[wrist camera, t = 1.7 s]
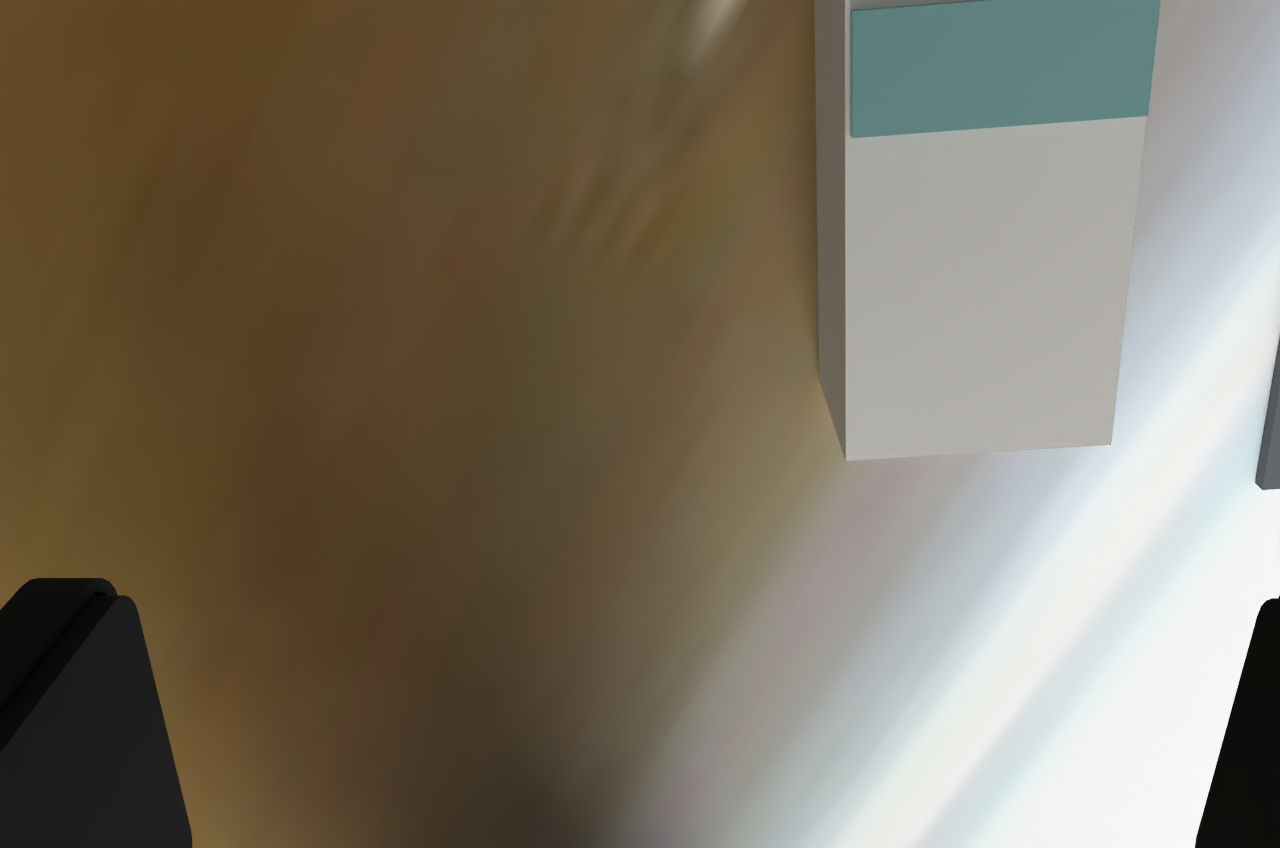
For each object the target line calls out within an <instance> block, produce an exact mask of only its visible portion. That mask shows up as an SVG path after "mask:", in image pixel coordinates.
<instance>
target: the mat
mask: <svg viewBox="0 0 1280 848" xmlns="http://www.w3.org/2000/svg"><path fill="white" fill-rule="evenodd" d="M1255 483H1256V484H1257V485H1258V486H1259V487H1260V488H1261V489H1262V490H1267V489H1280V341H1279V347H1278V353H1277V359H1276V364H1275V370H1274V376H1273V382H1272V388H1271V394H1270V400H1269V405H1268V411H1267V417H1266V423H1265V429H1264V435H1263V441H1262V446H1261V452H1260V458H1259V464H1258V470H1257V476H1256V482H1255Z"/></svg>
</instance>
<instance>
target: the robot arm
mask: <svg viewBox="0 0 1280 848" xmlns="http://www.w3.org/2000/svg"><path fill="white" fill-rule="evenodd" d="M0 848H192V834H191V828H190V824H189V820H188V816H187V812H186V808H185V804H184V800H183V795H182V791H181V787H180V783H179V779H178V775H177V771H176V767H175V762H174V758H173V754H172V750H171V746H170V742H169V738H168V734H167V729H166V725H165V721H164V717H163V713H162V709H161V705H160V701H159V696H158V692H157V688H156V684H155V680H154V676H153V672H152V668H151V663H150V659H149V655H148V651H147V647H146V643H145V639H144V635H143V631H142V626H141V622H140V618H139V614H138V611H137V608H136V605H135V603H134V602H133V600H132V599H131V598H130V597H127V596H118V595H117V593H116V590H115V588H114V587H113V586H112V584H111V583H110V582H109V581H107V580H105V579H103V578H37V579H32V580H29V581H28V582H27V583H25V584H24V585H23V586H22V587H21V588H20V589H19V590H18V591H17V592H16V593H15V594H14V595H13V597H12V598H11V599H10V600H9V601H8V602H7V603H6V604H5V605H4V607H3V608H2V609H1V610H0ZM1195 848H1280V596H1279V598H1278V599H1270V600H1267V601H1266V602H1265V603H1264V604H1263V605H1262V606H1261V608H1260V611H1259V613H1258V616H1257V619H1256V623H1255V627H1254V630H1253V634H1252V637H1251V641H1250V645H1249V648H1248V652H1247V656H1246V659H1245V663H1244V667H1243V670H1242V674H1241V677H1240V681H1239V685H1238V688H1237V692H1236V696H1235V699H1234V703H1233V707H1232V710H1231V714H1230V717H1229V721H1228V725H1227V728H1226V732H1225V736H1224V739H1223V743H1222V747H1221V750H1220V754H1219V757H1218V761H1217V765H1216V768H1215V772H1214V776H1213V779H1212V783H1211V787H1210V790H1209V794H1208V797H1207V801H1206V805H1205V808H1204V812H1203V816H1202V819H1201V823H1200V826H1199V830H1198V834H1197V838H1196V844H1195Z"/></svg>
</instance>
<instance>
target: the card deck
mask: <svg viewBox="0 0 1280 848" xmlns="http://www.w3.org/2000/svg"><path fill="white" fill-rule="evenodd" d="M814 2H815V84H816V167H817V249H818V331H819V381H820V384H821V387H822V390H823V393H824V396H825V399H826V402H827V405H828V408H829V411H830V414H831V418H832V421H833V424H834V427H835V430H836V433H837V436H838V439H839V442H840V445H841V448H842V451H843V454H844V457H845V460H846V461H854V460H870V459H886V458H902V457H918V456H934V455H950V454H966V453H983V452H999V451H1015V450H1031V449H1047V448H1063V447H1079V446H1095V445H1111V440H1112V431H1113V422H1114V413H1115V403H1116V394H1117V385H1118V376H1119V367H1120V357H1121V348H1122V339H1123V330H1124V321H1125V311H1126V302H1127V293H1128V284H1129V275H1130V265H1131V256H1132V247H1133V238H1134V229H1135V219H1136V210H1137V201H1138V192H1139V183H1140V173H1141V164H1142V155H1143V146H1144V137H1145V127H1146V118H1147V116H1148V110H1149V101H1150V92H1151V82H1152V73H1153V64H1154V55H1155V46H1156V37H1157V27H1158V18H1159V9H1160V0H814Z"/></svg>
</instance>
